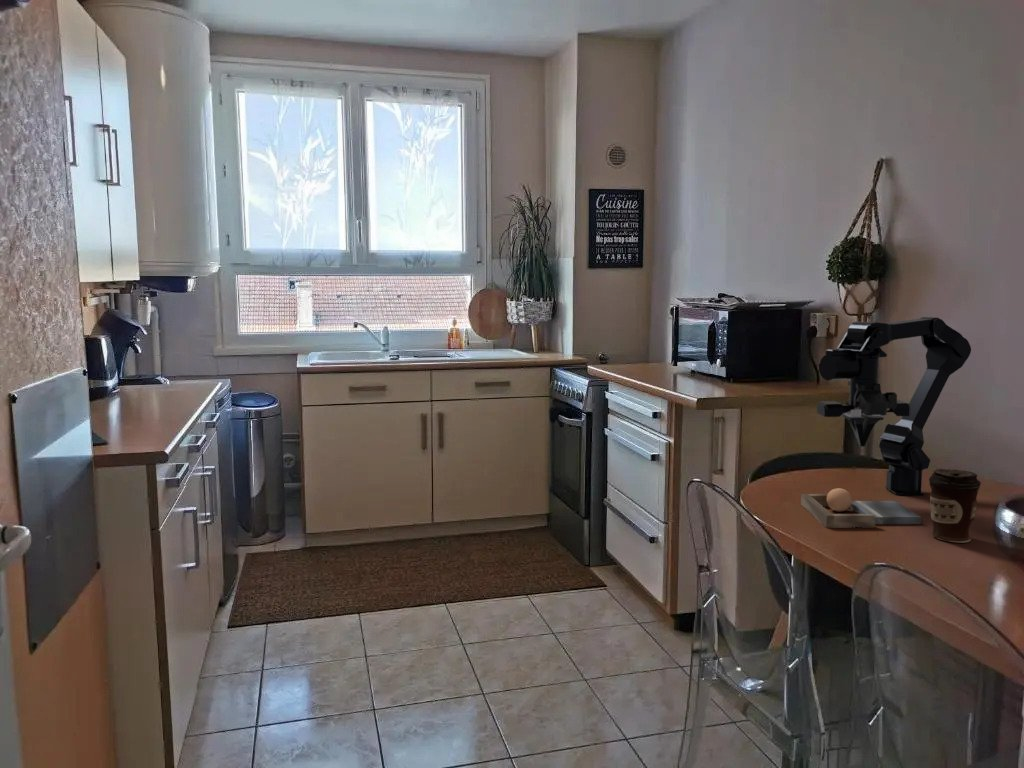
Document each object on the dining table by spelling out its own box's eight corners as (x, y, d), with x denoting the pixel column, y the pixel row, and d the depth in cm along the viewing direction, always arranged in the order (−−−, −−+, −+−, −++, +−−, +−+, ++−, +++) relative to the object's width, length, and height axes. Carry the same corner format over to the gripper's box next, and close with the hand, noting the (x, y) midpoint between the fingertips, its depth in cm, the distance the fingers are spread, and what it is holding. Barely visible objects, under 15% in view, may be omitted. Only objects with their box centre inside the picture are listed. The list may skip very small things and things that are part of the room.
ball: (822, 504, 170) (846, 512, 168) (824, 508, 165) (848, 516, 164) (829, 483, 169) (853, 490, 168) (831, 486, 164) (856, 494, 163)
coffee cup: (957, 548, 142) (961, 479, 140) (916, 536, 149) (918, 470, 148) (986, 540, 146) (990, 473, 144) (944, 529, 153) (947, 464, 152)
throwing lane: (891, 504, 171) (891, 493, 170) (926, 527, 154) (926, 515, 154) (801, 505, 172) (801, 494, 172) (826, 527, 156) (826, 515, 155)
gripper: (834, 382, 166) (832, 454, 168) (923, 381, 165) (920, 453, 167) (817, 376, 177) (815, 443, 179) (900, 375, 176) (898, 443, 178)
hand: (861, 446), depth 175 cm, fingers closed
